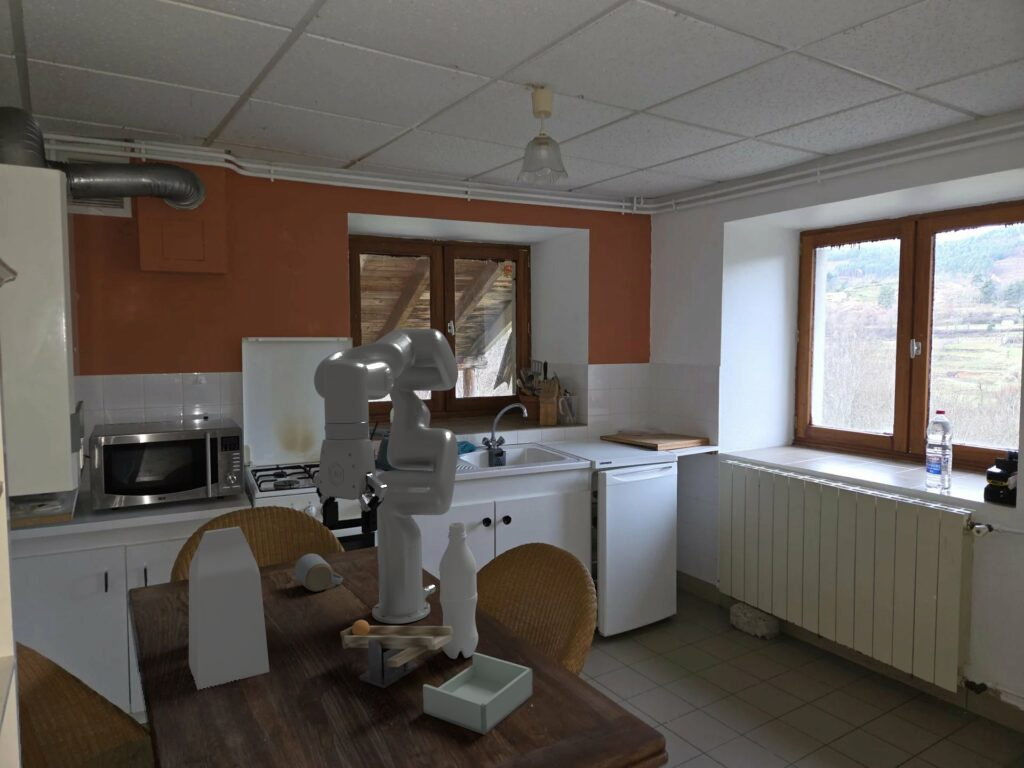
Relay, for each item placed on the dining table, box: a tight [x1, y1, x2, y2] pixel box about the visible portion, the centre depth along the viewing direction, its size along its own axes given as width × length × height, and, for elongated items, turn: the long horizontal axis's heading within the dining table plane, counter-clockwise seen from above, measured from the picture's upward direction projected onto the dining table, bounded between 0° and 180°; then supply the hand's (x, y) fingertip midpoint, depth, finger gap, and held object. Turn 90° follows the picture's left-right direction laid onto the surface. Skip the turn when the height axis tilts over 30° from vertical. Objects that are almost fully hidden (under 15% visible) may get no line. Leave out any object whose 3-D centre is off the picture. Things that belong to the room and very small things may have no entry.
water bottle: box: [438, 522, 479, 660], centre depth 132 cm, size 7×7×25 cm
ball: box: [351, 619, 370, 636], centre depth 129 cm, size 3×3×3 cm
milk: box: [188, 526, 270, 691], centre depth 128 cm, size 12×12×26 cm
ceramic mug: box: [294, 553, 344, 593], centre depth 170 cm, size 11×8×8 cm
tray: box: [422, 651, 534, 736], centre depth 114 cm, size 14×12×4 cm
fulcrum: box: [358, 639, 419, 689], centre depth 125 cm, size 6×9×7 cm, turn 147°
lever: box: [340, 625, 453, 667], centre depth 121 cm, size 22×12×3 cm, turn 57°
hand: (349, 528), depth 122 cm, fingers open, 9 cm apart
